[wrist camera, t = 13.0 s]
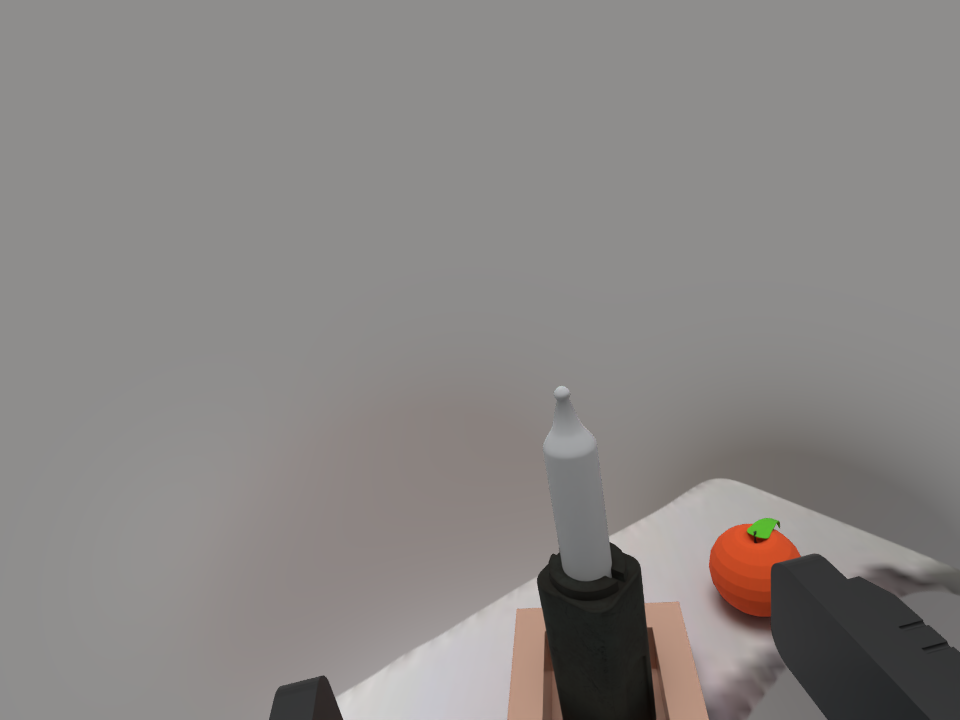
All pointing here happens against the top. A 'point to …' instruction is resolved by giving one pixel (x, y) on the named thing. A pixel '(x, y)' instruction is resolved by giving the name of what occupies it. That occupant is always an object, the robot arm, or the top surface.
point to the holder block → (670, 657)
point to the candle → (591, 588)
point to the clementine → (749, 564)
